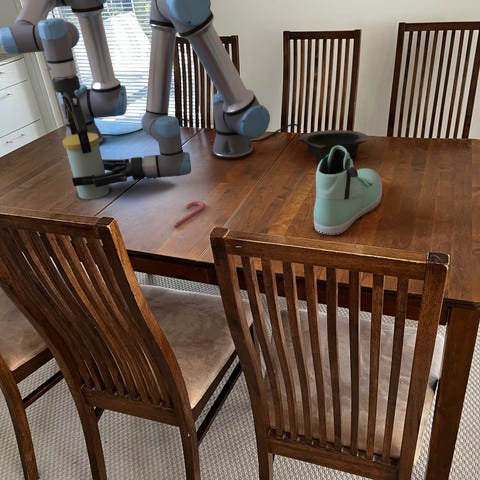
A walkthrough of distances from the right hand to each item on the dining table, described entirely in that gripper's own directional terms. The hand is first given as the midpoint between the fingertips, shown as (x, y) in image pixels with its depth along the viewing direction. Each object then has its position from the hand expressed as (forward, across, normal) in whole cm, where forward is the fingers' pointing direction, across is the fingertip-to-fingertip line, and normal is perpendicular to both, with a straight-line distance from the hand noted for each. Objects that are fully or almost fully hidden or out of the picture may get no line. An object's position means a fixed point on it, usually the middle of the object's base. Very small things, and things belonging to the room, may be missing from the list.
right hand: (76, 175), depth 157 cm
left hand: (-4, 0, +9) cm, 10 cm away
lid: (-4, 0, +12) cm, 12 cm away
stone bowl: (-89, +9, -7) cm, 89 cm away
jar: (-4, 0, -7) cm, 8 cm away
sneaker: (-82, -31, -7) cm, 88 cm away
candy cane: (-36, -25, -7) cm, 44 cm away
